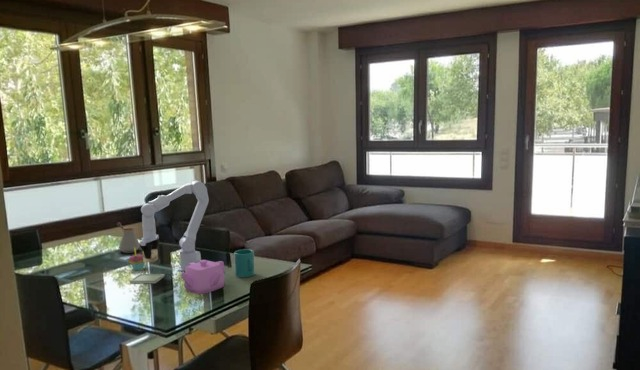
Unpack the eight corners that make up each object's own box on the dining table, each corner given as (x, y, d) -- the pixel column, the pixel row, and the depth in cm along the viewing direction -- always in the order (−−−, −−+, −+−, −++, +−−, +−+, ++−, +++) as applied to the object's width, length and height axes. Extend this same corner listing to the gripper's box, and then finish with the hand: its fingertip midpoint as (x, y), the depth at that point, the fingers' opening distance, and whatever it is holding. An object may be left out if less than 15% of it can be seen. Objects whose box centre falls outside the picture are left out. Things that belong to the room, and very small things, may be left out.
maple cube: (158, 259, 228) (157, 249, 227) (153, 262, 223) (152, 251, 222) (148, 259, 228) (147, 249, 228) (143, 262, 223) (142, 251, 223)
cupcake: (141, 271, 231) (139, 247, 229) (125, 270, 233) (123, 247, 231) (150, 266, 239) (149, 243, 238) (135, 265, 241) (133, 242, 240)
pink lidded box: (226, 280, 214) (224, 254, 212) (222, 293, 197) (221, 265, 196) (187, 283, 212) (186, 256, 210) (181, 296, 195) (179, 267, 194)
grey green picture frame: (164, 276, 222) (164, 274, 222) (155, 283, 212) (155, 281, 212) (140, 276, 223) (140, 273, 223) (129, 283, 214) (129, 280, 213)
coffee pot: (143, 251, 270) (141, 225, 268) (123, 255, 262) (121, 228, 260) (129, 244, 286) (128, 220, 284) (110, 248, 278) (108, 223, 276)
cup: (245, 281, 213) (243, 256, 212) (231, 275, 222) (230, 251, 221) (261, 276, 219) (261, 253, 217) (248, 270, 228) (247, 248, 226)
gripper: (148, 225, 231) (150, 252, 233) (133, 232, 217) (135, 261, 219) (162, 225, 230) (163, 252, 232) (148, 232, 216) (149, 261, 218)
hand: (150, 256), depth 225 cm, fingers closed on maple cube, 5 cm apart
